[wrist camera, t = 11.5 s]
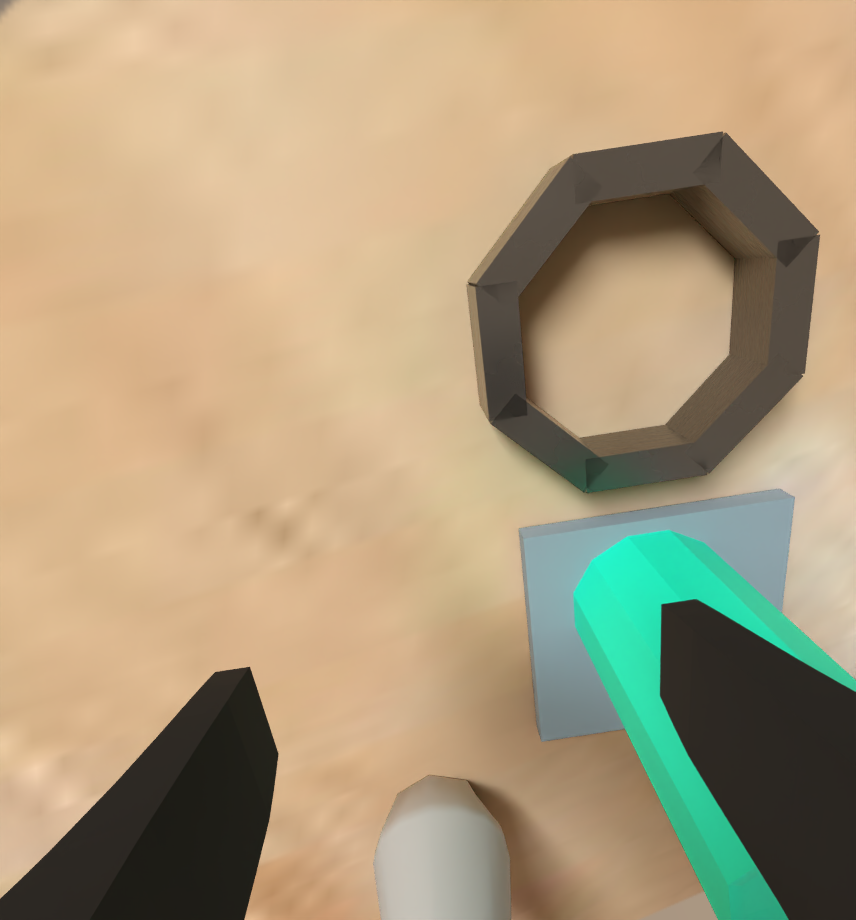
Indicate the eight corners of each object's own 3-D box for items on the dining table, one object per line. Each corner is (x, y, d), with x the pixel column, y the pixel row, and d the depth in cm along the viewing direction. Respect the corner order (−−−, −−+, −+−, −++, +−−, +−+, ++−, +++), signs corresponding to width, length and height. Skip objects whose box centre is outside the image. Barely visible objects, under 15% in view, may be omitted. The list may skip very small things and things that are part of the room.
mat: (779, 488, 20) (794, 497, 19) (759, 692, 24) (770, 706, 23) (518, 528, 20) (523, 538, 19) (537, 726, 24) (541, 741, 23)
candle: (745, 536, 20) (1201, 893, 9) (698, 665, 22) (1018, 1091, 11) (590, 523, 19) (859, 886, 8) (557, 656, 21) (735, 1096, 10)
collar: (781, 132, 16) (833, 115, 14) (756, 442, 19) (794, 461, 18) (455, 182, 16) (462, 171, 14) (488, 483, 19) (498, 506, 17)
